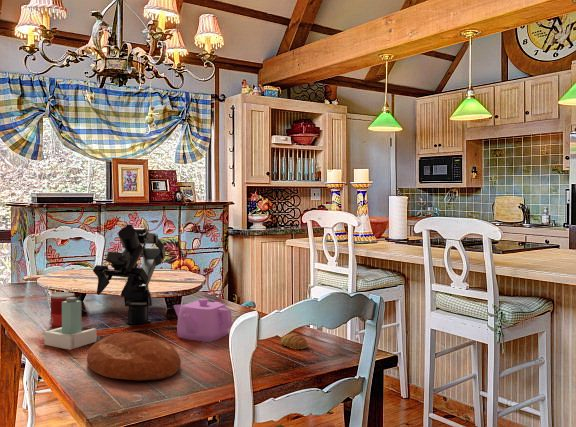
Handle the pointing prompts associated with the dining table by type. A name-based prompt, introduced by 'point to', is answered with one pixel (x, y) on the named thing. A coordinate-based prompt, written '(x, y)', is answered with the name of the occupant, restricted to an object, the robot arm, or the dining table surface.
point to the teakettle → (203, 320)
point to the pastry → (294, 341)
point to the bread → (133, 357)
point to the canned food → (58, 308)
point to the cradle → (69, 338)
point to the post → (71, 316)
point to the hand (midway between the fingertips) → (109, 295)
